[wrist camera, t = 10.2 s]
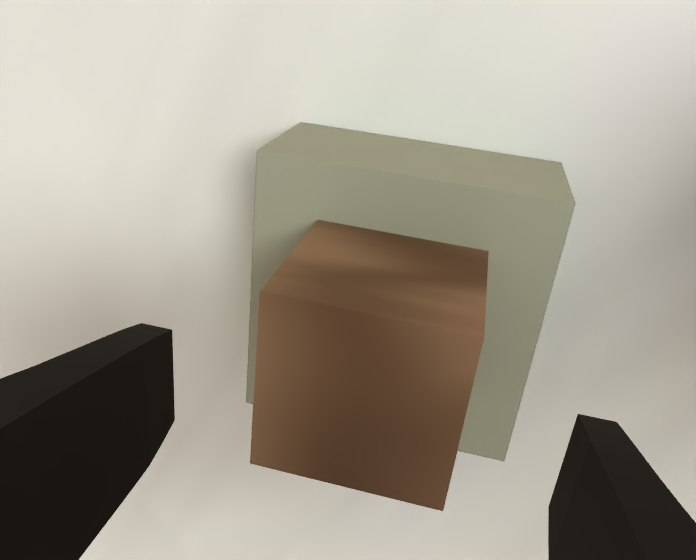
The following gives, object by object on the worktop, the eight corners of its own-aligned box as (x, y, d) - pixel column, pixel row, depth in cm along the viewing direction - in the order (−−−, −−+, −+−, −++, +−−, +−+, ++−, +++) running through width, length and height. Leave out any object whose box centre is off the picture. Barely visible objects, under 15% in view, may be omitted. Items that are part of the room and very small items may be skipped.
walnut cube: (488, 251, 16) (484, 336, 12) (455, 395, 18) (442, 511, 14) (317, 219, 17) (259, 290, 13) (304, 362, 19) (250, 463, 15)
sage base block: (561, 162, 19) (575, 202, 15) (503, 386, 22) (504, 461, 18) (300, 122, 20) (256, 150, 16) (285, 339, 23) (246, 402, 20)
